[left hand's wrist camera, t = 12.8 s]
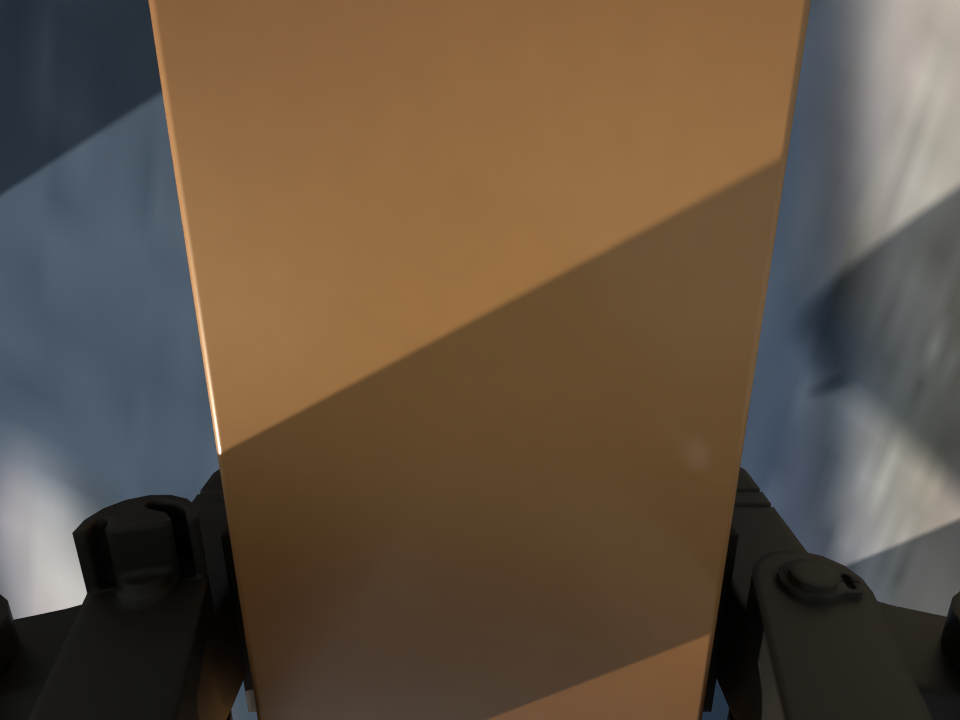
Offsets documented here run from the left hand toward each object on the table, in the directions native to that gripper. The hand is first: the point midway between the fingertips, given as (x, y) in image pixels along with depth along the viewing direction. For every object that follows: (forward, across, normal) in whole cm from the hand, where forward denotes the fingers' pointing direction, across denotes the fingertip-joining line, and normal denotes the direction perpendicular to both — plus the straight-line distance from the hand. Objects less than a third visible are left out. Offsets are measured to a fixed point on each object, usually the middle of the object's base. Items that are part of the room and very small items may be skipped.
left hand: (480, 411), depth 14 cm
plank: (+1, 0, -24) cm, 24 cm away
